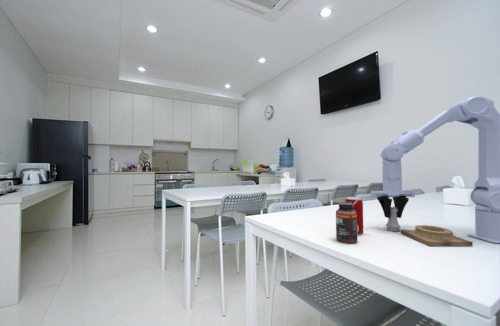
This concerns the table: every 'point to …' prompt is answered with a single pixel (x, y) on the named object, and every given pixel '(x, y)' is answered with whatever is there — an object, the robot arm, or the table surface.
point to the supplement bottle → (346, 223)
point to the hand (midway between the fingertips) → (392, 217)
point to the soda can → (359, 210)
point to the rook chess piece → (393, 221)
